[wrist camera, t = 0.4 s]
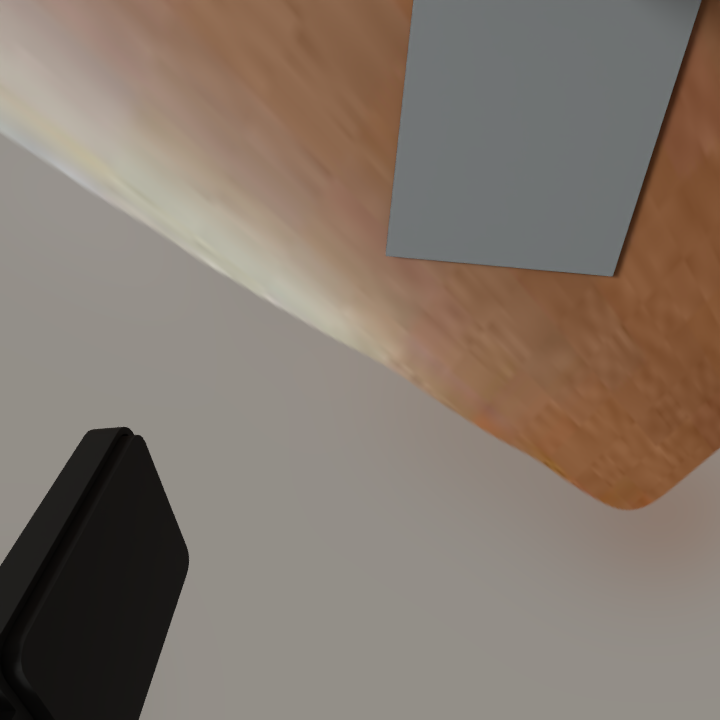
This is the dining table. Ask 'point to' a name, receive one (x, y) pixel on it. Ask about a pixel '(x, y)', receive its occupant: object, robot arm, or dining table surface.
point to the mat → (531, 128)
